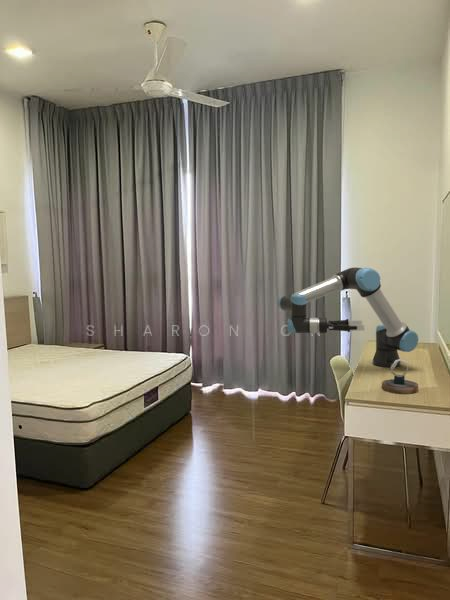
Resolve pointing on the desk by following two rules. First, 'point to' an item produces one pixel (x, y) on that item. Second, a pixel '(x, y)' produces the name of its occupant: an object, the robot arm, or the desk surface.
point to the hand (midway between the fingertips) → (363, 325)
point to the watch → (399, 378)
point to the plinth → (400, 387)
